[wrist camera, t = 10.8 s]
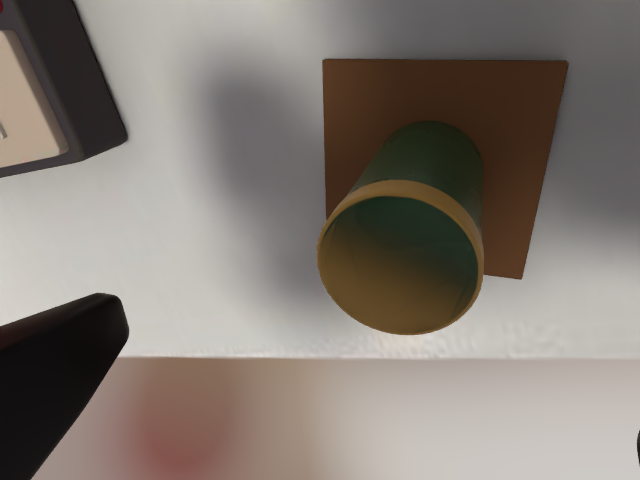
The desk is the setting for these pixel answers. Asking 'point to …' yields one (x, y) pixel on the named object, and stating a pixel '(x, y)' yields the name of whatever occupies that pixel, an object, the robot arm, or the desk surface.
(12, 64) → the calculator
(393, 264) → the tin
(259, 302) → the desk surface
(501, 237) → the mat
